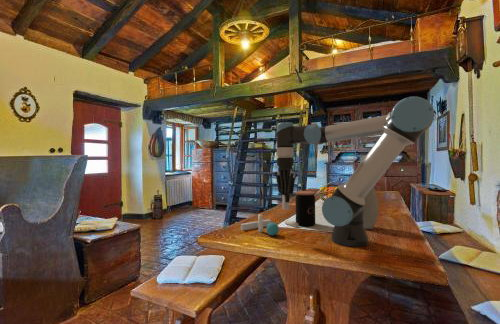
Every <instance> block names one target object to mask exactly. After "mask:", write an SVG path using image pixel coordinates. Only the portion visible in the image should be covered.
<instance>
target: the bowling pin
mask: <svg viewBox="0 0 500 324" xmlns="http://www.w3.org/2000/svg"><path fill="white" fill-rule="evenodd" d="M366 155H367V154H365V155H362V157H360V160H359V162H360V163H361V162H362V161H363V159H364V158H365V157H366ZM360 163H359V164H360ZM364 200H365V205H364V227H365V230H373V229H374V228H375V227H376V224H377V221H378V220H377V219H378V215H379V209H380V208H379V199H378V195H377V191H376V189H375V185H374V186H373V188H372V189H371V190H370V191H369V193H368V194H367V195H366V196H365V198H364Z"/></svg>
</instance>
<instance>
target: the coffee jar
mask: <svg viewBox="0 0 500 324" xmlns="http://www.w3.org/2000/svg"><path fill="white" fill-rule="evenodd" d="M315 195H316V192H315V191H311V190H309V191H308V190H298V191H295V222H296V223H298V224H299V226H298V227H305V228H307V227H310V226H311V227H314V226H315V225H316V197H315Z"/></svg>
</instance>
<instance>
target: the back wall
mask: <svg viewBox="0 0 500 324" xmlns="http://www.w3.org/2000/svg"><path fill="white" fill-rule="evenodd" d="M269 223H272V220H271V219H269V218H268V219H263V228H264V227H267V225H268V224H269ZM254 229H258V220H257V221H250V222H245V223H240V230H241V231H248V230H254Z"/></svg>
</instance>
